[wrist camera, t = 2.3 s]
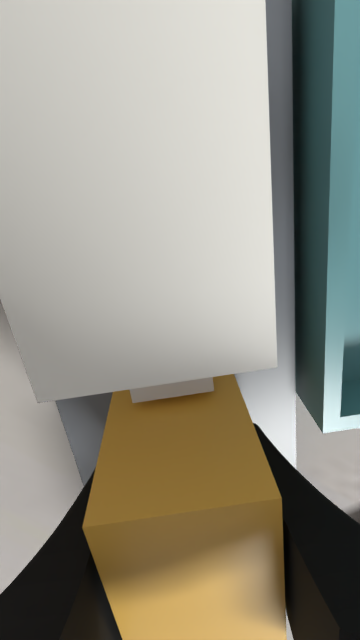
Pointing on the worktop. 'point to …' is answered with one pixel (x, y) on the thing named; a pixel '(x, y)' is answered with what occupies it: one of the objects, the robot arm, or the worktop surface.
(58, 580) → the robot arm
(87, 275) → the block
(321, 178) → the tray
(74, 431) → the board
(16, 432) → the worktop surface
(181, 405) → the yellow rectangular block
